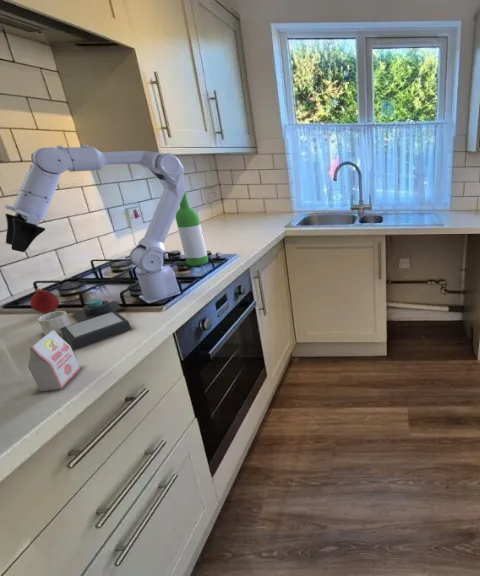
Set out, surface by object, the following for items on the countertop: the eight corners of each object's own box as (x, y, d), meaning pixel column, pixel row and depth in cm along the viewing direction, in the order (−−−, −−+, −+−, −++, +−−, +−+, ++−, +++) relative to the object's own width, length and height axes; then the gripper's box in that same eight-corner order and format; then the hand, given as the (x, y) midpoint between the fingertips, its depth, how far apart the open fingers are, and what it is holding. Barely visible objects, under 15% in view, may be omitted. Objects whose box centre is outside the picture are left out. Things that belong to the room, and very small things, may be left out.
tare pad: (114, 303, 110) (111, 295, 109) (123, 310, 105) (121, 302, 104) (73, 315, 103) (70, 307, 102) (82, 323, 98) (78, 315, 97)
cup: (69, 323, 98) (62, 308, 96) (74, 329, 95) (68, 314, 93) (42, 332, 94) (35, 316, 92) (47, 338, 91) (40, 323, 89)
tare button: (101, 302, 105) (99, 298, 104) (104, 305, 103) (102, 300, 103) (88, 306, 103) (86, 301, 102) (91, 309, 101) (90, 304, 100)
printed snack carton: (40, 391, 72) (19, 348, 68) (60, 371, 78) (42, 331, 74) (61, 388, 72) (41, 346, 68) (80, 368, 78) (62, 328, 75)
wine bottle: (188, 262, 144) (169, 184, 132) (209, 259, 146) (192, 183, 135) (186, 268, 137) (165, 187, 125) (208, 265, 140) (190, 185, 128)
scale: (118, 318, 100) (114, 309, 99) (131, 329, 94) (128, 320, 93) (63, 336, 91) (59, 327, 90) (74, 349, 86) (70, 339, 85)
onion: (60, 307, 108) (49, 282, 104) (65, 312, 104) (54, 287, 101) (34, 314, 103) (22, 289, 100) (38, 320, 100) (26, 294, 97)
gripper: (7, 184, 88) (-14, 236, 88) (19, 190, 80) (-5, 248, 79) (45, 197, 94) (25, 246, 93) (59, 204, 85) (38, 257, 85)
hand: (14, 247), depth 87 cm, fingers open, 7 cm apart
